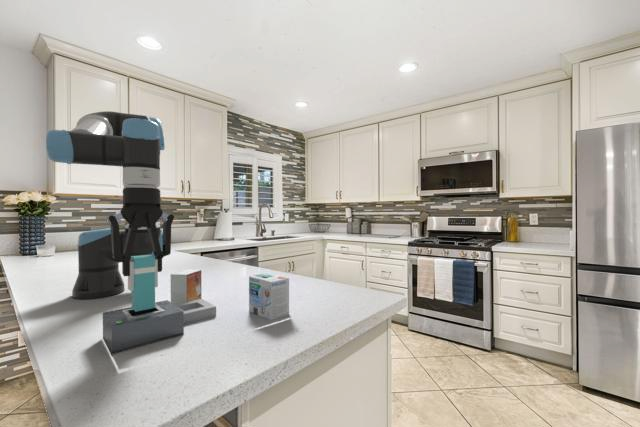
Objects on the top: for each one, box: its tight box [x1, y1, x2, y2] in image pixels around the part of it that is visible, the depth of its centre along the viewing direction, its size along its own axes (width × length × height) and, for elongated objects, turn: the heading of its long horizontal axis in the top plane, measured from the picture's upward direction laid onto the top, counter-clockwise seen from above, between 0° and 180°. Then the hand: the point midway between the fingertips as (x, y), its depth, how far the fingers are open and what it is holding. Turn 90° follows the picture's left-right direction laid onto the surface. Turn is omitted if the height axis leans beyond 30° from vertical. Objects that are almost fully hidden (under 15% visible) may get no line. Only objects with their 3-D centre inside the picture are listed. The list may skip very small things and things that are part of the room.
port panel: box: [102, 299, 185, 357], centre depth 70 cm, size 12×14×6 cm
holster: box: [175, 298, 217, 325], centre depth 83 cm, size 10×10×3 cm
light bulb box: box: [248, 272, 290, 321], centre depth 85 cm, size 11×7×11 cm, turn 47°
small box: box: [170, 268, 202, 305], centre depth 94 cm, size 8×6×10 cm
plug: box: [130, 255, 156, 312], centre depth 70 cm, size 4×4×12 cm
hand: (143, 287), depth 70 cm, fingers closed on plug, 4 cm apart
